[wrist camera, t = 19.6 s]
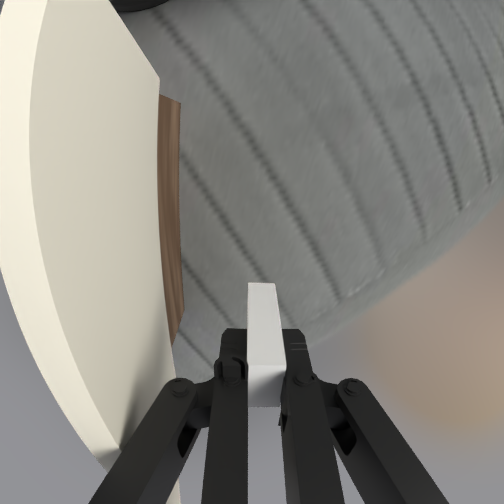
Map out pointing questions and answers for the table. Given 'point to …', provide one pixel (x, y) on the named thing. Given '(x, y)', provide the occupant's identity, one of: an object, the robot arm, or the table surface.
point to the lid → (83, 214)
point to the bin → (169, 209)
